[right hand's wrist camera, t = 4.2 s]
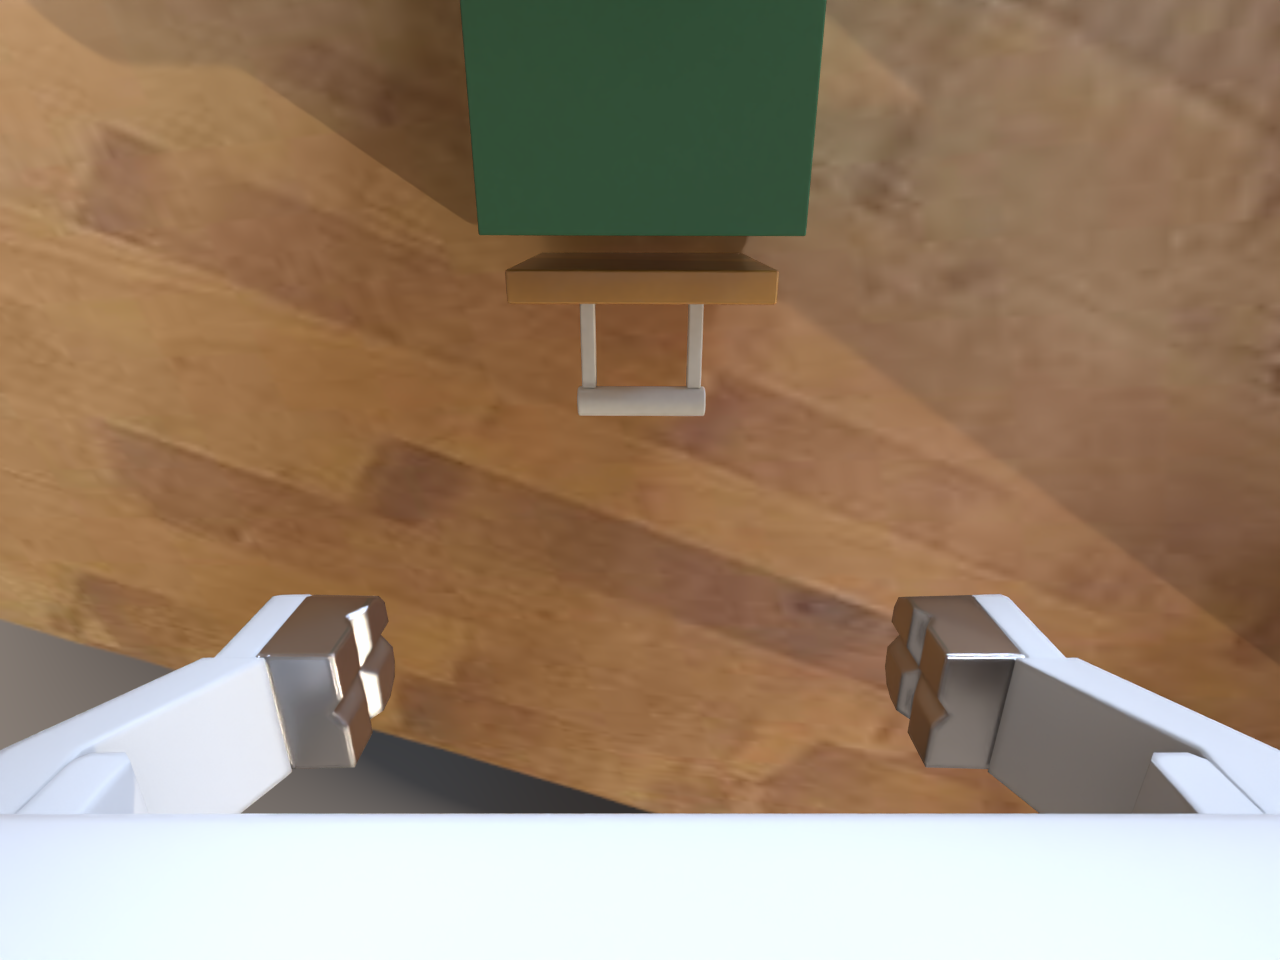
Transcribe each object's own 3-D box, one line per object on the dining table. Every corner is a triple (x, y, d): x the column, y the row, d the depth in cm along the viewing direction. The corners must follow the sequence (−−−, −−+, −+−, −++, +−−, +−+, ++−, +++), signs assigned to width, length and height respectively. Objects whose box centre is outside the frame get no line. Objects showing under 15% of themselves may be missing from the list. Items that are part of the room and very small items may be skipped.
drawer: (735, 383, 36) (766, 441, 27) (547, 382, 36) (516, 440, 27) (771, -263, 26) (838, -499, 17) (515, -264, 26) (452, -500, 17)
